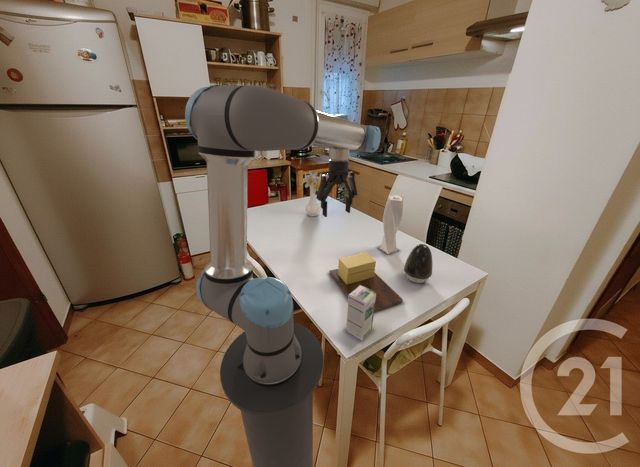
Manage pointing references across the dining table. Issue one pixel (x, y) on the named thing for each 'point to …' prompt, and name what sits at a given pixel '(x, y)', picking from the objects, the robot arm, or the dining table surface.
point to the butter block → (355, 275)
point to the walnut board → (375, 284)
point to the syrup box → (360, 312)
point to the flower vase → (312, 193)
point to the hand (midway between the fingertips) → (336, 213)
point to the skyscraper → (391, 223)
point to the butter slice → (356, 263)
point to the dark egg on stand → (419, 264)
